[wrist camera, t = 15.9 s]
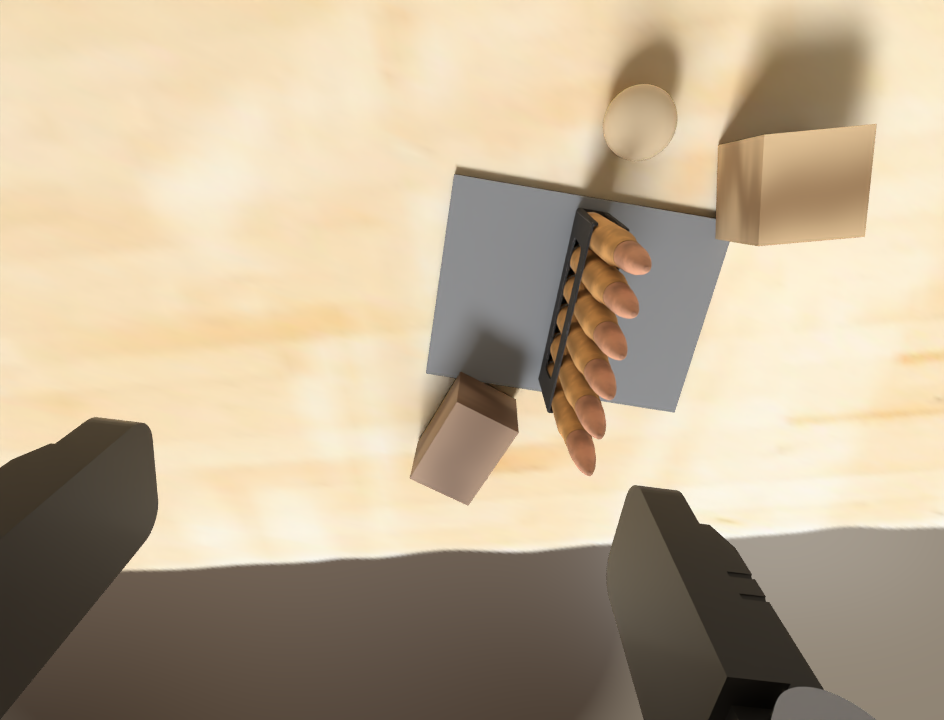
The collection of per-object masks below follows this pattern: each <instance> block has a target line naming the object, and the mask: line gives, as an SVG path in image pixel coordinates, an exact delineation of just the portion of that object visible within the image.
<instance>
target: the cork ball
mask: <svg viewBox="0 0 944 720" xmlns="http://www.w3.org/2000/svg"><path fill="white" fill-rule="evenodd" d="M676 125H677V111H676V107H675V104H674V102H673V100H672V98H671V97H670V96H669V94H668V93H667V92H666V91H664V90H663V89H661V88H660V87H657V86H655V85H651V84H638V85H634V86H631V87H628V88H626V89H625V90H623V91H622V92H620V93H619V94H618V95H617V96H616V97H615V98H614V99H613V100H612V102H611V103H610V105H609V106H608V108H607V111H606V113H605V117H604V122H603V132H604V137H605V140H606V142H607V144H608V146H609V147H610V149H611V150H612V151H613V152H614V153H615V154H616V155H618V156H619V157H621V158H623V159H626V160H630V161H641V160H646V159H649V158H652V157H654V156H655V155H657V154H659V153H660V152H661V151H662V150H663V149H664V148H665V147H666V146H667V145H668V144H669V142H670V141H671V139H672V137H673V135H674V133H675V130H676Z"/></svg>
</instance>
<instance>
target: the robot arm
mask: <svg viewBox="0 0 944 720" xmlns="http://www.w3.org/2000/svg"><path fill="white" fill-rule="evenodd" d="M157 510H158V494H157V483H156V472H155V461H154V450H153V439H152V433H151V430H150V428H149V427H148V426H147V425H146V424H145V423H139V422H131V421H123V420H115V419H107V418H99V417H95V418H91V419H89V420H87V421H86V422H84V423H83V424H81V425H80V426H79V427H77V428H76V429H75V430H73V431H72V432H71V433H69V434H68V435H66V436H65V437H64V438H62V439H61V440H60V441H58V442H57V443H56V444H48V445H46V446H44V447H41V448H39V449H36V450H34V451H32V452H29V453H27V454H24V455H22V456H20V457H17V458H15V459H12V460H11V461H9V462H8V463H6V464H5V465H3V466H2V467H1V468H0V719H1V718H2V717H3V715H4V714H5V713H6V712H7V711H8V709H9V708H10V707H11V706H12V704H13V703H14V702H15V701H16V699H17V698H18V697H19V696H20V694H21V693H22V692H23V691H24V690H25V688H26V687H27V686H28V685H29V684H30V682H31V681H32V679H34V677H35V676H36V675H37V673H39V671H40V670H41V669H42V668H43V666H44V665H45V664H46V663H47V661H48V660H49V659H50V658H51V657H52V655H53V654H54V653H55V651H56V650H57V649H58V648H59V647H60V645H61V644H62V643H63V642H64V641H65V639H66V638H67V637H68V636H69V634H70V633H71V632H72V631H73V629H74V628H75V627H76V626H77V625H78V623H79V622H80V621H81V620H82V618H83V617H84V616H85V615H86V613H87V612H88V611H89V610H90V608H91V607H92V606H93V605H94V604H95V602H96V601H97V600H98V599H99V597H100V596H101V595H102V594H103V593H104V591H105V590H106V589H107V588H108V587H109V585H110V584H111V583H112V582H113V580H114V579H115V578H116V577H117V575H118V574H119V573H120V572H121V571H122V569H123V568H124V567H125V566H126V564H127V563H128V562H129V561H130V560H131V558H132V557H133V556H134V555H135V553H136V552H137V551H138V550H139V548H140V547H141V546H142V545H143V544H144V542H145V541H146V540H147V538H148V536H149V535H150V533H151V531H152V528H153V526H154V523H155V520H156V516H157ZM606 575H607V576H606V580H607V591H608V596H609V600H610V603H611V606H612V610H613V614H614V617H615V621H616V624H617V628H618V631H619V634H620V638H621V641H622V645H623V648H624V652H625V656H626V659H627V663H628V666H629V669H630V673H631V676H632V680H633V684H634V687H635V690H636V694H637V697H638V700H639V704H640V708H641V712H642V715H643V718H644V720H876V719H875V718H873V717H872V716H871V715H870V714H868V713H867V712H865V711H864V710H863V709H861V708H860V707H858V706H856V705H855V704H853V703H852V702H850V701H848V700H846V699H844V698H842V697H840V696H838V695H835V694H833V693H831V692H828V691H825V690H824V689H823V687H822V686H821V684H820V683H819V681H818V680H817V678H816V676H815V675H814V673H813V671H812V670H811V668H810V667H809V665H808V663H807V662H806V660H805V659H804V657H803V656H802V654H801V653H800V651H799V649H798V647H797V646H796V644H795V643H794V641H793V640H792V638H791V636H790V635H789V633H788V632H787V630H786V628H785V627H784V625H783V624H782V622H781V620H780V619H779V617H778V616H777V614H776V612H775V611H774V609H773V608H772V606H771V604H770V603H769V602H766V601H765V595H764V593H763V592H762V590H761V588H760V587H759V586H758V584H757V582H756V580H755V579H752V578H751V575H752V574H751V572H750V571H749V569H748V568H747V566H746V564H745V563H744V561H743V560H742V558H741V556H740V555H739V553H738V552H737V550H736V548H735V547H733V546H732V545H731V544H730V543H729V542H728V541H727V540H726V539H725V538H723V537H722V536H721V535H720V534H719V533H718V532H717V531H716V530H715V529H713V528H712V527H711V526H710V525H706V524H699V522H698V521H697V519H696V517H695V515H694V514H693V512H692V510H691V508H690V507H689V505H688V503H687V501H686V500H685V498H684V496H683V495H682V493H681V492H679V491H677V490H669V489H661V488H653V487H645V486H637V485H634V486H632V487H631V488H630V490H629V491H628V493H627V496H626V499H625V502H624V506H623V509H622V512H621V516H620V519H619V523H618V526H617V529H616V533H615V536H614V540H613V543H612V546H611V550H610V553H609V557H608V562H607V573H606Z"/></svg>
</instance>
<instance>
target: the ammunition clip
mask: <svg viewBox="0 0 944 720" xmlns="http://www.w3.org/2000/svg"><path fill="white" fill-rule="evenodd" d="M651 267H652V263H651V258H650V256H649V254H648V252H647V251H646V250H645V249H644V248H643V247H642V246H641V245H640V244H639V243H638V242H637V240H636V238H635V237H634V236H633V235H632V234H631V233H630V232H629V228H627V227H626V226H625V225H624V224H622V223H621V222H620V221H618V220H617V219H616V218H615V217H613V216H612V215H611V214H610V213H608V212H603V211H597V210H591V209H585V208H578V209H577V210H576V213H575V218H574V222H573V227H572V231H571V235H570V240H569V244H568V249H567V253H566V258H565V262H564V267H563V271H562V276H561V280H560V285H559V289H558V293H557V298H556V302H555V307H554V311H553V316H552V320H551V325H550V329H549V334H548V338H547V343H546V347H545V351H544V356H543V360H542V365H541V369H540V374H539V378H538V380H539V383H540V387H541V390H542V394H543V397H544V401H545V405H546V408H547V412H549V413H554V417H555V421H556V424H557V428H558V431H559V433H560V434H561V436H562V437H563V439H564V441H565V444H566V446H567V448H568V451H569V454H570V456H571V458H572V460H573V461H574V463H575V465H576V466H577V467H578V469H579V470H580V471H581V472H582V473H584V474H585V475H587V476H591V475H592V474H593V472H594V470H595V464H596V455H595V448H594V444H593V441H592V436H593V437H594V438H597V439H601V438H603V436H604V434H605V430H606V420H605V414H604V410H603V407H602V405H601V401H600V398H599V396H600V397H602V398H603V399H606V400H612V399H613V398H614V397H615V395H616V389H617V387H616V379H615V376H614V373H613V371H612V369H611V365H610V363H609V360H608V357H610V358H612V359H615V360H623V359H625V357H626V356H627V350H628V348H627V341H626V338H625V336H624V334H623V332H622V331H621V329H620V327H619V325H618V320H617V317H616V315H618V316H620V317H623V318H627V319H632V318H635V317H636V316H637V315H638V313H639V302H638V299H637V297H636V296H635V294H634V292H633V291H632V290H631V288H630V286H629V285H628V283H627V280H626V278H625V276H624V275H623V274H622V273H621V272H620V271H619V269H622V270H623V271H625V272H628V273H630V274H633V275H644V274H646V273H648V272H649V271H650V270H651ZM615 314H616V315H615Z"/></svg>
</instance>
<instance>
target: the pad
mask: <svg viewBox="0 0 944 720" xmlns="http://www.w3.org/2000/svg"><path fill="white" fill-rule="evenodd" d="M578 208H585V209H591V210H597V211H603V212H608V213H610V214H611V215H612V216H613V217H615V218H616V219H617V220H618V221H620V222H621V223H622V224H624V225H625V226H626V227H627V228H629V232H630V233H631V234H632V235H633V236H634V237H635V238H636V240H637V242H638V243H639V244H640V245H641V246H642V247H643V248H644V249H645V250H646V251H647V252H648V254H649V256H650V258H651V263H652V267H651V270H650V271H649V272H648V273H646V274H644V275H633V274H630V273H628V272H625V271H623V270H622V269H619V271H620V272H621V273H622V274H623V275H624V276H625V278H626V280H627V283H628V285H629V286H630V288H631V290H632V291H633V292H634V294H635V296H636V297H637V299H638V302H639V313H638V315H637V316H636V317H635V318H632V319H627V318H623V317H620V316H618V315H616V314H615V315H616V317H617V320H618V325H619V327H620V329H621V331H622V332H623V334H624V336H625V338H626V341H627V348H628V350H627V356H626V357H625V359H623V360H615V359H612V358H610V357H608V360H609V363H610V365H611V369H612V371H613V373H614V376H615V379H616V387H617V389H616V395H615V397H614V398H613V399H612V400H606V399H603V398H602V397H600V396H599V398H600V401H605V402H611V403H617V404H624V405H630V406H636V407H643V408H649V409H655V410H662V411H668V412H675V409H676V406H677V403H678V400H679V397H680V394H681V391H682V387H683V384H684V381H685V378H686V375H687V372H688V369H689V366H690V363H691V360H692V357H693V353H694V350H695V347H696V344H697V341H698V338H699V335H700V332H701V329H702V326H703V323H704V319H705V316H706V313H707V310H708V307H709V304H710V301H711V298H712V295H713V292H714V289H715V285H716V282H717V279H718V276H719V273H720V270H721V267H722V264H723V261H724V258H725V255H726V251H727V248H728V245H729V242H730V241H724V240H718V239H715V234H716V219H715V218H709V217H703V216H697V215H692V214H686V213H680V212H674V211H668V210H662V209H656V208H650V207H645V206H639V205H633V204H627V203H621V202H615V201H609V200H604V199H598V198H592V197H586V196H580V195H574V194H568V193H563V192H557V191H551V190H545V189H539V188H533V187H527V186H522V185H516V184H510V183H504V182H498V181H492V180H486V179H480V178H475V177H469V176H463V175H457V174H454V179H453V186H452V194H451V201H450V208H449V215H448V222H447V229H446V236H445V243H444V250H443V257H442V264H441V271H440V278H439V285H438V292H437V299H436V306H435V313H434V320H433V327H432V334H431V341H430V348H429V355H428V362H427V370H426V373H427V374H433V375H439V376H446V377H452V378H457V377H458V375H459V373H460V372H463V373H465V374H467V375H469V376H471V377H473V378H475V379H477V380H479V381H480V382H484V383H490V384H497V385H503V386H509V387H516V388H522V389H528V390H535V391H541V392H542V390H541V387H540V383H539V380H538V378H539V374H540V369H541V365H542V360H543V356H544V351H545V347H546V343H547V338H548V334H549V329H550V325H551V320H552V316H553V311H554V307H555V302H556V298H557V293H558V289H559V285H560V280H561V276H562V271H563V267H564V262H565V258H566V253H567V249H568V244H569V240H570V235H571V231H572V227H573V222H574V218H575V213H576V210H577V209H578Z"/></svg>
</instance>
